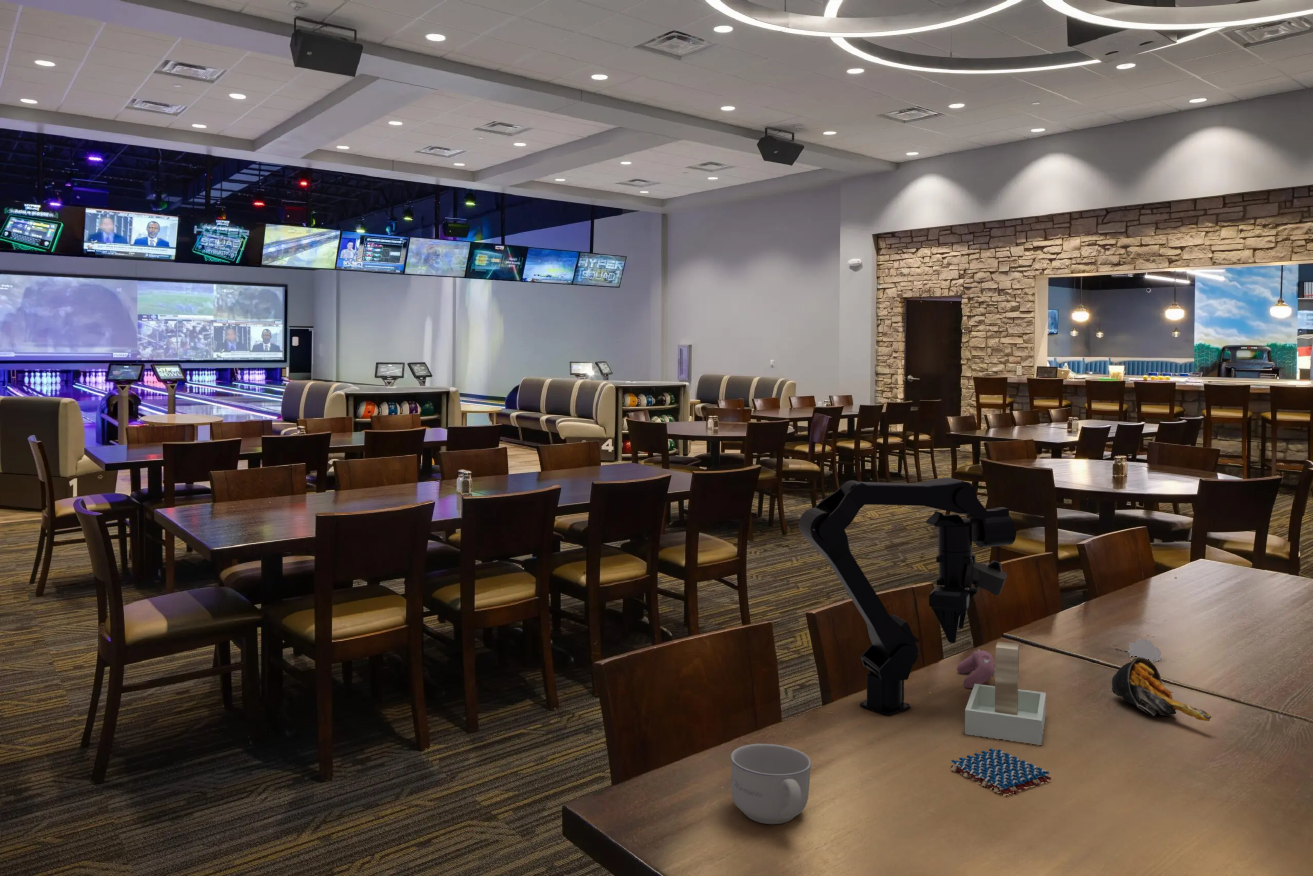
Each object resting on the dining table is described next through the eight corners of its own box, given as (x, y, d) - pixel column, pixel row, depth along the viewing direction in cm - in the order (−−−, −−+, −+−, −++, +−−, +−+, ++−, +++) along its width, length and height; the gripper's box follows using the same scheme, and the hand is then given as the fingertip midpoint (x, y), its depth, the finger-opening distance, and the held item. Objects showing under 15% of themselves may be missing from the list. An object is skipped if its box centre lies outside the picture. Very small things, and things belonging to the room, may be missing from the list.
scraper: (1015, 731, 149) (1016, 653, 148) (993, 728, 150) (994, 651, 149) (1018, 714, 156) (1020, 640, 155) (997, 711, 157) (998, 638, 156)
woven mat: (1005, 802, 127) (1005, 788, 127) (947, 773, 137) (947, 760, 136) (1055, 785, 132) (1055, 771, 132) (996, 758, 141) (996, 745, 141)
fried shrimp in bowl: (1133, 666, 168) (1230, 661, 153) (1134, 727, 164) (1232, 728, 149) (1098, 653, 165) (1193, 646, 150) (1098, 715, 161) (1195, 715, 145)
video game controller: (984, 698, 170) (1002, 666, 169) (961, 686, 170) (979, 654, 169) (975, 680, 180) (993, 650, 179) (954, 669, 180) (971, 639, 179)
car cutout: (1169, 661, 186) (1169, 640, 186) (1155, 668, 182) (1155, 646, 182) (1095, 645, 198) (1096, 624, 197) (1080, 651, 194) (1081, 630, 193)
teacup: (725, 797, 129) (724, 742, 128) (800, 793, 130) (800, 738, 129) (742, 848, 115) (742, 787, 114) (827, 843, 116) (827, 782, 115)
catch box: (1041, 746, 145) (1041, 720, 144) (964, 734, 150) (965, 709, 149) (1045, 716, 157) (1045, 692, 156) (974, 706, 162) (974, 683, 161)
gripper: (997, 563, 150) (998, 655, 151) (1008, 541, 167) (1009, 625, 168) (927, 559, 155) (929, 648, 156) (945, 538, 172) (946, 619, 173)
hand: (956, 635), depth 163 cm, fingers open, 9 cm apart
